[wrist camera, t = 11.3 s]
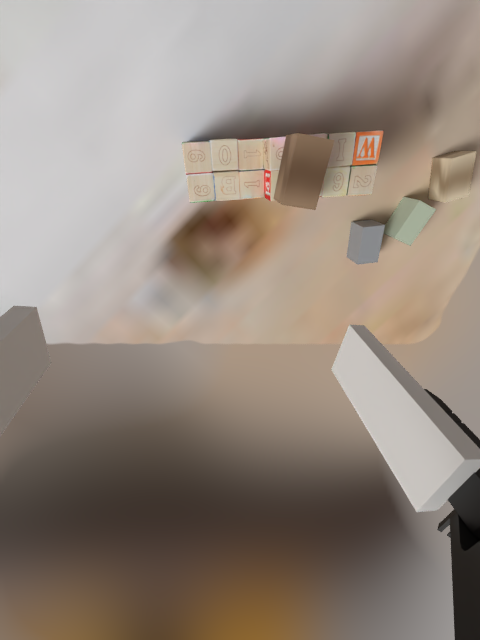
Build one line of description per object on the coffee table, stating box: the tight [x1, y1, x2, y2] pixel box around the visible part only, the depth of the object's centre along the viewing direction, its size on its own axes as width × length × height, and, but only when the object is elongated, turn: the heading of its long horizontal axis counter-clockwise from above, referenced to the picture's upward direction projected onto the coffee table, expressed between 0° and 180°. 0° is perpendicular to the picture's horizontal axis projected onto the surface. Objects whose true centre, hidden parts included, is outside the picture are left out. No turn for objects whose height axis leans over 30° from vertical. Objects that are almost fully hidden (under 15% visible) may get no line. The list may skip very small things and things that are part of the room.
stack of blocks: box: [182, 130, 383, 203], centre depth 35 cm, size 21×6×12 cm, turn 92°
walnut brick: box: [274, 133, 335, 210], centre depth 28 cm, size 6×4×4 cm, turn 171°
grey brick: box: [347, 220, 385, 264], centre depth 46 cm, size 6×4×4 cm, turn 4°
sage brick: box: [384, 197, 436, 246], centre depth 45 cm, size 6×4×4 cm, turn 157°
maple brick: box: [428, 151, 477, 203], centre depth 42 cm, size 6×4×4 cm, turn 15°
